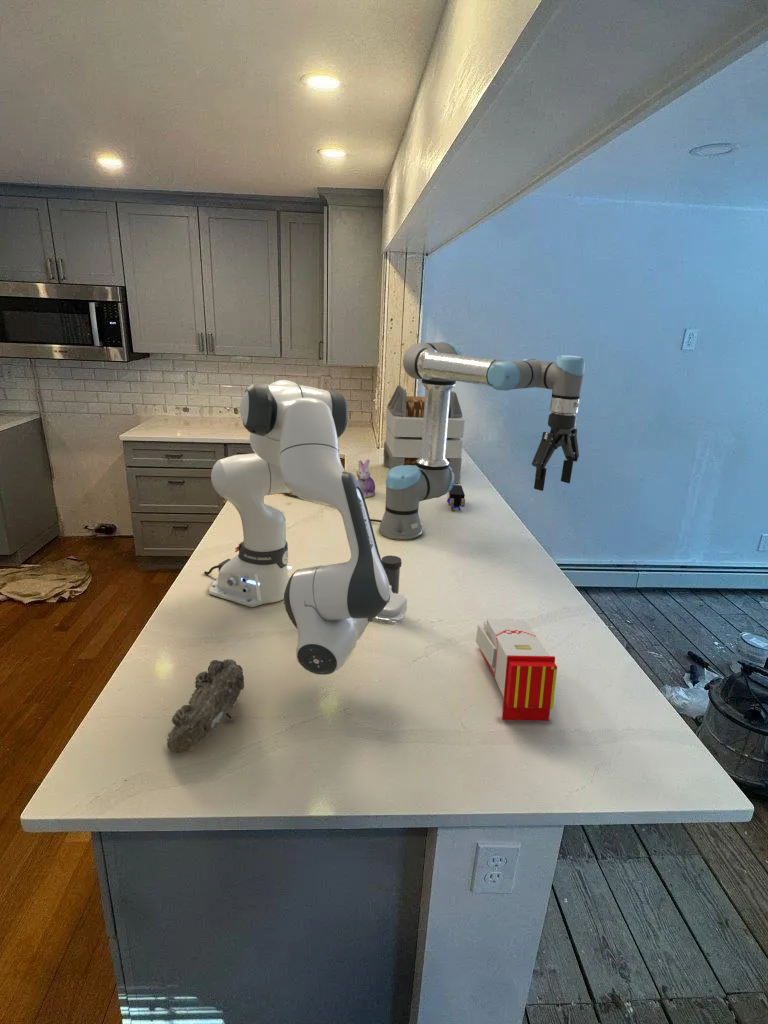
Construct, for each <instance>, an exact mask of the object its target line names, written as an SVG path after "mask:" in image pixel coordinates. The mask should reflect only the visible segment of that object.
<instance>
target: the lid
mask: <svg viewBox="0 0 768 1024" xmlns="http://www.w3.org/2000/svg"><path fill="white" fill-rule="evenodd" d="M381 560H382V563H383V566H384V568H385V569H390V570H394V569H398V568H400V569H401V567H402V558H401V557H400V556H396V555H385V556H382V557H381Z"/></svg>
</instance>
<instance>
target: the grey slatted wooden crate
mask: <svg viewBox="0 0 768 1024" xmlns="http://www.w3.org/2000/svg"><path fill="white" fill-rule="evenodd" d="M407 394H408V393H407V390H406V389H404V388H403V387H402V385H399V384H398V385H397V386H396V388H395V390H394V392H393V394H392V395H391V398H390V400H389V402H388V404H387V405H386V413H385V414H386V415H385V423H386V428H385V438H384V442H383V466H384V467H388V468H389V470H390V469H392V468H394V467H396V466H401V465H404V466H405V465H413V466H416V461H417V459H418V458H420V457H421V449H422V434H423V419H424V404H425V396H415V395H414V396H413V395H412V396H411V395H407ZM464 429H465V419H464V418H463V411H462V408H461V405H460V402H459V398H458V395H457V392H455V391H453V390H451V392H450V404H449V416H448V428H447V441H446V453H445V458H446V459H447V461H448V462H449V466H450V467H451V469H452V473H454V484H455V483H456V484H459V483H461V472H462V461H463V460H462V453H463V442H464V441H463V440H462V439H463V438H464V431H465V430H464Z"/></svg>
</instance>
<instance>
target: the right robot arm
mask: <svg viewBox="0 0 768 1024" xmlns="http://www.w3.org/2000/svg"><path fill="white" fill-rule="evenodd" d="M585 365H586V360H585V358H584V357H582V356H578V355H566V354H565V355H564V354H563V355H558V356H557V357H556V360H555V361H549V360H541V359H536V358H524V359H521V360H506V359H505V360H504V359H503V360H502V359H496V358H487V357H479V356H471V355H464V354H463V352H462V350H461V349H460V347H459V346H457V345H456V344H455V343H451V342H445V341H443V342H442V341H441V342H440V341H439V342H438V341H437V342H417V343H414V344H412V345H411V346H409V347H408V348H407V350H406V351H405V353H404V355H403V358H402V366H403V369H404V372H405V373H406V374H407V375H408V376H409V377H411V378H412V379H415V380H421V385H422V386H423V387H424V389H425V392H424V397H425V404H424V419H423V434H422V449H421V457H420V458H418V459H417V461H416V466H413V465H401V466H396V467H394V468H392V469H390V468H389V470H388V472H387V474H386V479H385V504H384V505H385V507H384V508H385V509H384V513H383V515H382V519H375V518H370V521H371V522H375V523H379V527H378V533H379V534H380V535H381V536H382V537H385V538H387V539H389V540H395V541H410V540H415V539H418V538H420V537H421V536H422V535H423V525H422V524H421V518H420V515H419V507H420V506H419V505H420V502H423V501H427V500H431V499H437V498H440V497H443V496H446V495H448V493H449V491H450V490H451V489H452V487H453V485H455V483H454V473H452V469H451V467H450V466H449V462H448V461H447V459H446V458H445V453H446V441H447V428H448V416H449V404H450V392H451V391H452V389H453V388H454V387H455V386H456V384H457V382H461V383H465V384H473V385H479V386H487V387H491V388H492V389H494V390H496V391H503V392H504V391H511V390H520V389H532V388H533V389H534V388H539V389H546V390H551V398H550V404H549V413H548V418H547V419H548V420H547V426H548V427H549V428H550V431H549V432H548V431H543V432H542V435H541V440H540V442H539V445H538V447H537V449H536V452H535V454H534V457H533V460H532V461H531V466H533V467H535V475H534V477H535V478H534V485H533V489H534V490H537V491H539V492H543V491H544V489H545V484H546V483H545V482H546V476H547V468H546V466H547V465H548V463H549V461H550V459H551V457H552V456H553V454H554V453H555V451H556V450H557V449H558V448H560V447H561V449H562V452H563V455H564V458H565V459H563V463H562V468H561V469H562V470H561V475H560V482H562V483H566V484H571V478H572V472H573V466H574V463H576V462H578V461H579V457H580V453H579V444H578V428H576V423H577V419H578V416H577V414H578V412H579V411H578V410H579V406H580V397H581V391H582V385H583V380H584V376H585ZM281 495H283V496H288V497H293V498H297V499H300V500H303V499H302V498H299V497H298V496H296V495H294V494H293V493H289V492H288V493H281Z"/></svg>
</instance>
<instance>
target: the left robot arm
mask: <svg viewBox="0 0 768 1024" xmlns="http://www.w3.org/2000/svg"><path fill="white" fill-rule="evenodd" d="M239 413H240V418H241V420H242V425H243V428H245V429H246V431H248V433H250V434H249V444H250V448H251V449H252V451H253V453H243V454H242V453H241V454H234V455H231V456H227V457H224V458H221V459H218V460H217V461H216V462H215V463H214V465H213V467H212V468H211V473H210V481H211V484H212V487H213V489H214V491H215V492H216V493H217V495H219V496H220V497H221V498H222V499H225V500H226V501H228V502H229V503H230V504H232V506H233V507H234V508H235V509H236V511H237V512H238V514H239V516H240V520H241V526H242V534H243V536H242V537H243V539H242V541H241V542H240V543H239V544H238V546H236V547H235V548H234V550H235V551H234V553H237V552H238V554H236V555H235V556H234V557H231V558H227V559H225V560H223V561H221V562H219V563H218V565H214V566H212V567H211V568H210V569H209V570H208V571H206V570H205V571H203V573H204V575H211V573H212V572H213V570H216V569H218V574H217V578H216V579H215V580H214V581H213V582H212V583H211V584H210V586H209V588H208V589H209V591H208V592H209V595H212V596H215V597H218V598H221V599H224V600H227V601H229V602H233V603H237V604H239V605H243V606H245V607H250V608H254V607H258V606H261V605H264V604H265V605H266V604H272V603H277V602H280V601H283V604H284V609H285V612H286V615H287V617H288V618H289V620H290V621H291V623H292V625H293V626H294V628H295V629H296V630H297V645H296V653H295V654H296V659H297V661H298V663H299V664H300V666H301V667H302V668H303V669H304V670H306V671H307V672H309V673H312V674H314V675H319V676H320V675H321V676H323V675H324V676H325V675H331V674H334V673H335V672H337V671H338V670H339V669H341V668H342V666H343V665H344V664H345V663H346V662H347V661H348V659H349V658H350V656H351V655H352V654H353V652H354V650H355V648H356V645H357V642H358V641H359V640H360V639H361V637H362V636H363V634H364V632H365V630H366V629H367V627H368V625H369V623H372V624H379V625H384V626H395V625H397V624H400V623H401V622H402V620H403V617H404V616H405V615H406V612H407V610H408V609H407V608H408V598H407V597H406V596H405V594H402V593H398V594H397V593H393V592H392V591H391V590H392V586H390V585H389V581H388V577H387V574H386V571H385V568H384V566H383V563H382V557H381V555H380V551H379V547H378V544H377V540H376V537H375V532H374V529H373V524H372V521H370V519H371V517H370V513H369V510H368V506H367V503H366V499H365V498H364V496H363V493H362V490H361V487H360V485H359V483H358V478H357V477H356V476H355V475H354V474H353V473H351V472H348V471H346V470H345V468H344V465H343V464H342V461H341V457H340V445H339V438H340V437H341V436H342V435H343V434H344V433H345V431H346V429H347V425H348V422H349V421H348V420H349V407H348V403H347V400H346V399H345V397H344V396H343V394H342V393H340V392H338V391H335V390H332V389H329V388H327V389H322V388H317V387H313V386H309V385H303V384H302V385H301V384H298V383H296V382H294V381H292V380H287V379H279V380H275V381H273V382H271V384H268V383H267V382H258V383H252V384H250V385H248V387H247V388H246V389H245V390H244V394H243V395H242V397H241V400H240V405H239ZM281 493H288V494H289V493H291V494H292V495H296V496H298V497H299V498H298V499H301V498H302V499H301V500H304V501H307V502H310V503H314V504H319V505H322V506H327V507H332V508H334V509H336V510H337V511H338V513H340V515H341V518H342V522H343V527H344V531H345V534H346V538H347V542H348V547H349V551H350V559H349V560H348V561H345V562H338V563H332V564H326V565H323V564H322V565H321V564H320V565H317V566H310V567H304V568H298V569H296V570H294V572H293V573H292V574H291V575H290V574H289V570H292V568H293V567H292V566H288V563H289V546H288V545H289V544H288V541H287V523H286V521H287V520H286V517H285V515H284V513H283V511H281V510H280V509H278V508H277V507H274V506H272V505H269V504H266V503H265V497H266V496H272V495H280V494H281ZM281 495H282V494H281Z"/></svg>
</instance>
